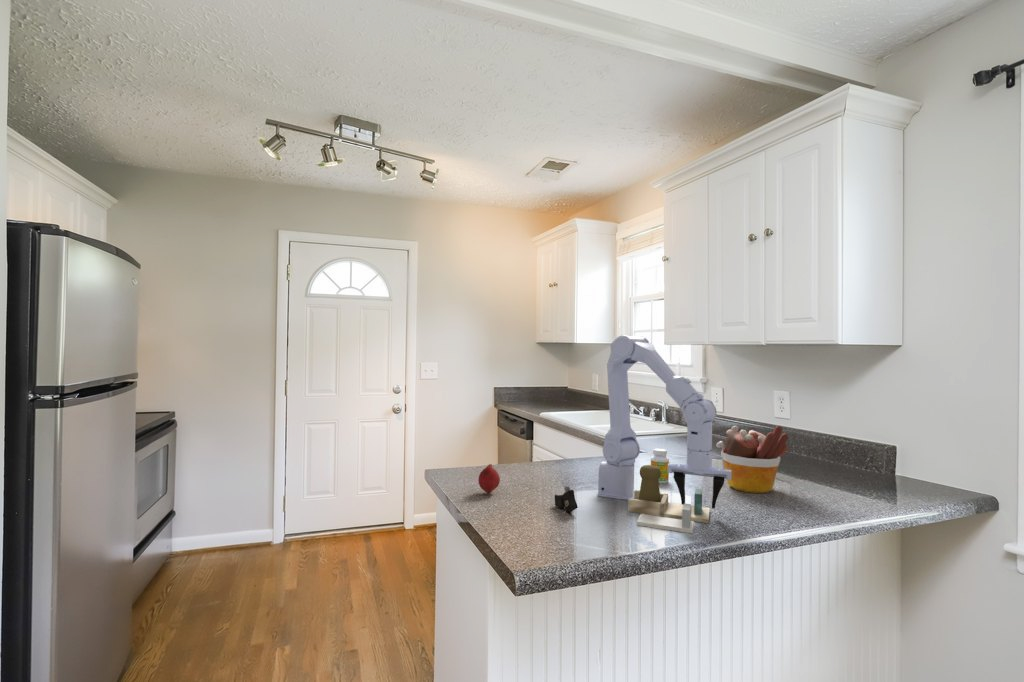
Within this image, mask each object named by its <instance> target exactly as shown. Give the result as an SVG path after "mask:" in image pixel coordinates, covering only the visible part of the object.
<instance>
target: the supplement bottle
mask: <svg viewBox="0 0 1024 682" xmlns="http://www.w3.org/2000/svg"><path fill="white" fill-rule="evenodd" d="M652 453H653V455H652V456H651V457H650V465H653V466H657V467H658V468H659V469H660V471H661V477H660V478H659V480H658V481H659V484H668V482H669V479H670V477H669V474H670V473H668V464H670V458H669V457H668V456H667V455H668V451H667V449H664V448H653V452H652Z"/></svg>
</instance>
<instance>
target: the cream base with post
mask: <svg viewBox="0 0 1024 682" xmlns="http://www.w3.org/2000/svg"><path fill="white" fill-rule="evenodd" d="M691 506H692V504H691V503H686V502H685V503H684V505H683V509H682V519H676V518H669V517H662V516H655V515H648V514H641V513H640V515H639V517H638V519H637V521H636V526H641V527H646V528H647V527H648V528H655V529H661V530H667V531H673V532H674V531H675V532H681V533H687V534H692V535H693V533H694V530H695V529H694V528H695V521H691Z"/></svg>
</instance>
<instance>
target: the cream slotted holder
mask: <svg viewBox="0 0 1024 682" xmlns="http://www.w3.org/2000/svg"><path fill="white" fill-rule="evenodd" d="M639 493H640V489H634V499H630V498H629V499H628V500H627V502H628V504H627V507H628V509H627V511H628V513H629V512H630V513H634V514H635V513H636V514H640V515H641V514H645V515H652V516H659V517H666V518H673V519H679V520H682V509H683V504H682V503H673V502H669V493H665V492H664V493H663V492H660V499H661V502H653V501H645V500H639ZM693 501H694V505H691V521H693V522H696V523H697V522H698V523H706V524H709V521H710V510H711V509H710V507H705V506H703V489H702V488H695V490H694V500H693Z"/></svg>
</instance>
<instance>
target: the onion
mask: <svg viewBox="0 0 1024 682" xmlns="http://www.w3.org/2000/svg"><path fill="white" fill-rule="evenodd" d="M500 479H501V478H500V474H499V472H498V471H497V470H496V469H495V468H494V467H493V464H492V463H488V465H486V467H485V468H483V469H482V471H480V472H479V475H478V486H479V487H480V488H481V490H483V492H485V493H487V494H492V492H493V491H495V490H496V489H497V488H498V487H499V484H500V482H501V480H500Z"/></svg>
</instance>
